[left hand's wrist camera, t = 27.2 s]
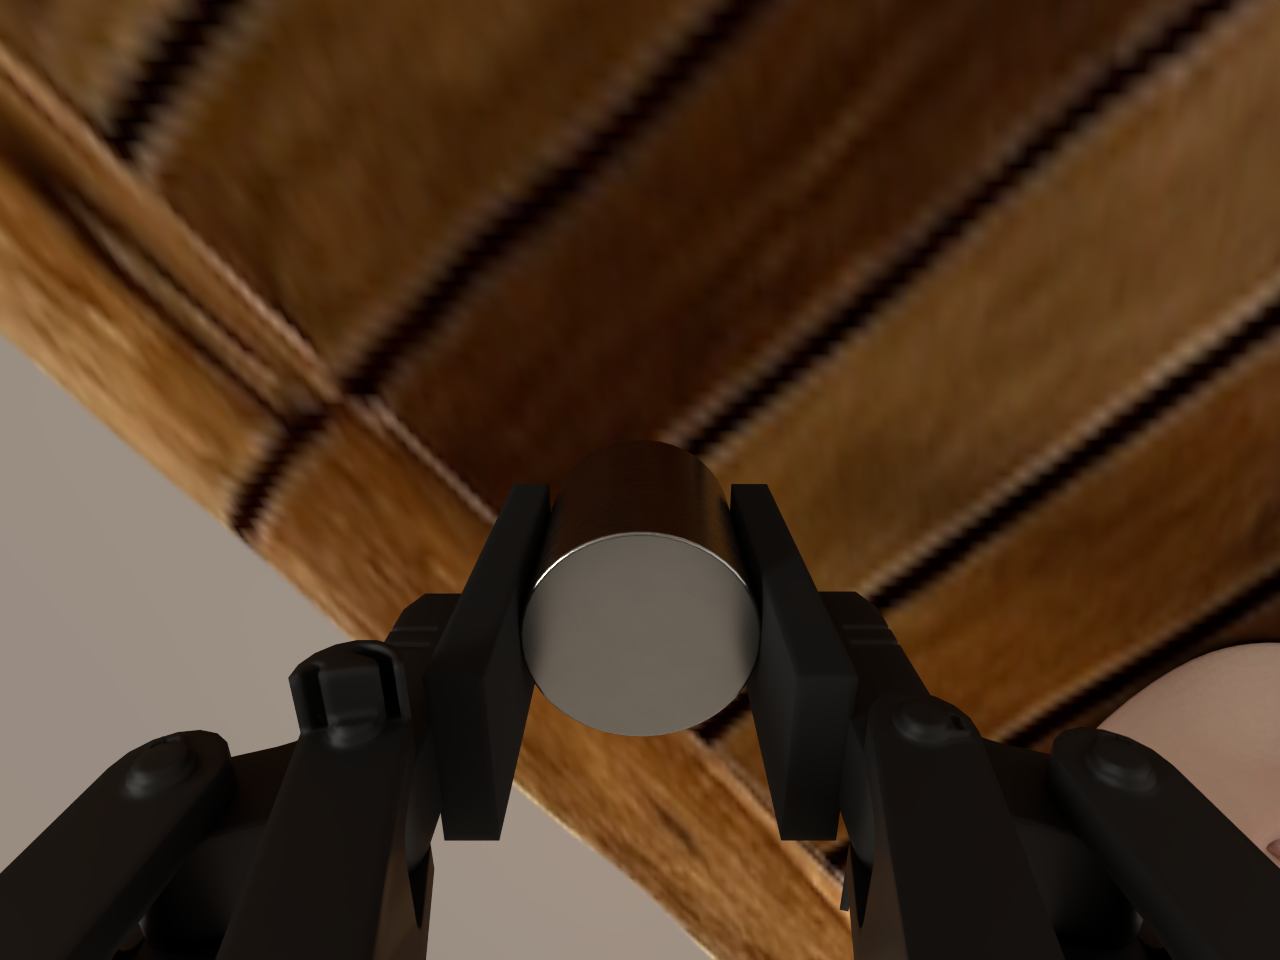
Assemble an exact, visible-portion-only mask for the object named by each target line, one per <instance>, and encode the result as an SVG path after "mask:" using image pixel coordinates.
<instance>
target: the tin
mask: <svg viewBox="0 0 1280 960" xmlns="http://www.w3.org/2000/svg"><path fill="white" fill-rule="evenodd" d="M761 627H762V625H761V618H760V613H759V608H758V605H757V602H756V598H755V595H754V591H753V588H752V585H751V581H750V578H749V575H748V571H747V568H746V564H745V561H744V558H743V554H742V551H741V547H740V544H739V541H738V537H737V534H736V531H735V527H734V524H733V520H732V517H731V514H730V510H729V507H728V504H727V500H726V497H725V495H724V492H723V489H722V487H721V486H720V484H719V482H718V480H717V479H716V477H715V476H714V475H713V473H712V472H711V471H710V470H709V469H708V468H707V467H706V466H705V465H704V464H703V463H702V462H701V461H700V460H699V459H697V458H696V457H695V456H693V455H692V454H690V453H688V452H687V451H685V450H683V449H681V448H678V447H676V446H673V445H670V444H667V443H663V442H659V441H652V440H630V441H623V442H618V443H614V444H611V445H608V446H605V447H603V448H600V449H599V450H597V451H595V452H593V453H591V454H590V455H588V456H587V457H585V458H584V459H583V460H581V461H580V462H579V463H578V464H577V465H576V466H575V467H574V468H573V469H572V470H571V471H570V472H569V474H568V475H567V476H566V478H565V479H564V481H563V483H562V484H561V486H560V488H559V490H558V493H557V495H556V498H555V501H554V505H553V508H552V512H551V515H550V518H549V522H548V525H547V529H546V532H545V535H544V539H543V542H542V545H541V549H540V552H539V556H538V559H537V562H536V566H535V569H534V573H533V576H532V579H531V583H530V586H529V589H528V593H527V596H526V600H525V603H524V607H523V610H522V614H521V619H520V629H519V633H520V646H521V651H522V656H523V659H524V662H525V665H526V667H527V670H528V672H529V674H530V676H531V678H532V679H533V681H534V683H535V684H536V686H537V687H538V688H539V690H540V691H541V692H542V694H543V695H544V696H545V697H546V698H547V699H548V700H549V701H550V702H551V703H552V704H553V705H554V706H556V707H557V708H558V709H559V710H561V711H562V712H563V713H565V714H566V715H568V716H569V717H571V718H573V719H574V720H576V721H578V722H580V723H582V724H585V725H587V726H589V727H592V728H595V729H598V730H601V731H604V732H609V733H613V734H618V735H627V736H654V735H663V734H668V733H673V732H677V731H680V730H684V729H687V728H690V727H692V726H694V725H697V724H699V723H701V722H703V721H705V720H707V719H709V718H710V717H712V716H714V715H715V714H717V713H718V712H719V711H721V710H722V709H723V708H725V707H726V706H727V705H728V704H729V703H730V702H731V701H732V700H733V699H734V698H736V696H737V695H738V694H739V693H740V691H741V690H742V689H743V688H744V687H745V685H746V683H747V682H748V680H749V678H750V677H751V675H752V673H753V670H754V668H755V666H756V663H757V661H758V657H759V653H760V645H761Z"/></svg>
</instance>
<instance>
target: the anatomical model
mask: <svg viewBox="0 0 1280 960" xmlns="http://www.w3.org/2000/svg"><path fill="white" fill-rule="evenodd" d="M1096 729H1104V730H1107V731H1110V732H1114V733H1117V734H1121V735H1123V736H1127V737H1129V738H1131V739H1133V740H1135V741H1137V742H1139V743H1141V744H1143V745H1145V746H1147V747H1149V748H1151V749H1153V750H1154V751H1156V752H1157V753H1158V754H1159V755H1161V756H1162V757H1163V758H1165V759H1166V760H1167V761H1169V762H1170V763H1171V764H1172V765H1174V766H1175V767H1176V768H1177V769H1178V770H1179V771H1180V772H1181V773H1182V774H1183V775H1184V776H1185V777H1186V778H1187V779H1188V780H1189V781H1190V782H1191V783H1192V784H1193V785H1194V786H1195V787H1196V788H1197V789H1198V790H1199V791H1201V792H1202V793H1203V794H1204V795H1205V796H1206V797H1207V798H1208V799H1209V800H1210V801H1211V802H1212V803H1213V804H1214V805H1215V806H1216V807H1217V808H1218V809H1219V810H1220V811H1221V812H1222V813H1223V814H1224V815H1225V816H1226V817H1227V818H1228V819H1229V820H1230V821H1231V822H1233V823H1234V824H1235V825H1236V826H1237V827H1238V828H1239V829H1240V830H1241V831H1242V832H1243V833H1244V834H1245V835H1246V836H1247V837H1248V838H1249V839H1250V840H1251V841H1252V842H1253V843H1254V844H1255V845H1256V846H1257V847H1258V848H1259V849H1260V850H1261V851H1262V852H1263V853H1265V854H1266V855H1267V856H1268V857H1269V858H1270V859H1271V860H1272V861H1273V862H1274V863H1275V864H1276V865H1277V866H1278V867H1279V868H1280V643H1256V644H1245V645H1237V646H1233V647H1228V648H1224V649H1220V650H1217V651H1213V652H1210V653H1207V654H1205V655H1202V656H1200V657H1197V658H1195V659H1192V660H1190V661H1188V662H1186V663H1184V664H1182V665H1181V666H1179V667H1177V668H1175V669H1173V670H1171V671H1170V672H1168V673H1167V674H1165V675H1163V676H1162V677H1160V678H1159V679H1157V680H1155V681H1154V682H1152V683H1151V684H1150V685H1148V686H1147V687H1145V688H1144V689H1143V690H1141V691H1140V692H1139V693H1137V694H1136V695H1134V696H1133V697H1132V698H1130V699H1129V700H1128V701H1127V702H1126V703H1124V704H1123V705H1122V706H1121V707H1120V708H1118V709H1117V710H1116V711H1115V712H1114V713H1113V714H1111V715H1110V716H1109V717H1108V718H1107V719H1106V720H1105V721H1103V722H1102V723H1101V724H1100V725H1099V726H1098V727H1097V728H1096Z"/></svg>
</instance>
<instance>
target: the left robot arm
mask: <svg viewBox="0 0 1280 960" xmlns="http://www.w3.org/2000/svg"><path fill="white" fill-rule="evenodd" d="M730 514H731V517H732V520H733V524H734V527H735V531H736V534H737V537H738V541H739V544H740V547H741V551H742V554H743V558H744V561H745V564H746V568H747V571H748V575H749V578H750V581H751V585H752V588H753V591H754V595H755V598H756V602H757V605H758V608H759V613H760V618H761V625H762V627H761V645H760V653H759V657H758V661H757V663H756V666H755V668H754V670H753V673H752V675H751V677H750V678H749V680H748V682H747V683H746V687H747V692H748V696H749V700H750V705H751V709H752V714H753V718H754V722H755V727H756V731H757V736H758V740H759V745H760V749H761V753H762V758H763V762H764V767H765V771H766V776H767V780H768V784H769V789H770V793H771V798H772V802H773V806H774V811H775V815H776V820H777V824H778V829H779V833H780V837H781V840H836V836H837V829H838V822H839V815H840V811H841V814H842V817H843V820H844V823H845V826H846V829H847V832H848V835H849V838H850V844H849V851H848V857H847V864H846V871H845V878H844V884H843V891H842V898H841V904H840V910H844V911H848V910H849V908H850V919H851V929H852V940H853V951H854V960H1280V868H1279V867H1278V866H1277V865H1276V864H1275V863H1274V862H1273V861H1272V860H1271V859H1270V858H1269V857H1268V856H1267V855H1266V854H1265V853H1263V852H1262V851H1261V850H1260V849H1259V848H1258V847H1257V846H1256V845H1255V844H1254V843H1253V842H1252V841H1251V840H1250V839H1249V838H1248V837H1247V836H1246V835H1245V834H1244V833H1243V832H1242V831H1241V830H1240V829H1239V828H1238V827H1237V826H1236V825H1235V824H1234V823H1233V822H1231V821H1230V820H1229V819H1228V818H1227V817H1226V816H1225V815H1224V814H1223V813H1222V812H1221V811H1220V810H1219V809H1218V808H1217V807H1216V806H1215V805H1214V804H1213V803H1212V802H1211V801H1210V800H1209V799H1208V798H1207V797H1206V796H1205V795H1204V794H1203V793H1202V792H1201V791H1199V790H1198V789H1197V788H1196V787H1195V786H1194V785H1193V784H1192V783H1191V782H1190V781H1189V780H1188V779H1187V778H1186V777H1185V776H1184V775H1183V774H1182V773H1181V772H1180V771H1179V770H1178V769H1177V768H1176V767H1175V766H1174V765H1172V764H1171V763H1170V762H1169V761H1167V760H1166V759H1165V758H1163V757H1162V756H1161V755H1159V754H1158V753H1157V752H1156V751H1154V750H1153V749H1151V748H1149V747H1147V746H1145V745H1143V744H1141V743H1139V742H1137V741H1135V740H1133V739H1131V738H1129V737H1127V736H1123V735H1121V734H1117V733H1114V732H1110V731H1107V730H1104V729H1094V728H1084V727H1080V728H1075V729H1070V730H1065V731H1063V732H1062V733H1061V734H1060V735H1059V736H1057V737H1056V738H1055V739H1054V742H1053V746H1052V749H1051V753H1050V754H1046V753H1041V752H1037V751H1032V750H1028V749H1023V748H1019V747H1014V746H1010V745H1005V744H1002V743H998V742H995V741H991V740H988V739H985V738H983V737H981V735H980V732H979V731H978V729H977V728H976V726H975V725H974V723H973V722H972V720H971V719H970V718H969V717H968V716H967V715H966V714H964V713H963V712H962V711H961V710H959V709H958V708H957V707H955V706H954V705H952V704H950V703H948V702H946V701H944V700H941V699H939V698H937V697H935V696H931V695H930V694H929V692H928V691H927V689H926V687H925V686H924V684H923V682H922V681H921V679H920V677H919V676H918V674H917V672H916V671H915V669H914V668H913V666H912V664H911V663H910V661H909V659H908V658H907V656H906V654H905V653H904V651H903V649H902V648H901V646H900V645H898V644H897V640H896V638H895V636H894V635H893V633H892V631H891V630H890V629H888V625H887V623H886V621H885V620H884V618H883V617H882V615H881V613H880V612H879V610H878V608H877V607H876V606H874V605H873V604H872V603H870V602H869V601H868V600H866V599H865V598H863V597H862V596H861V595H859V594H858V593H857V592H818V591H817V589H816V586H815V584H814V582H813V580H812V578H811V576H810V574H809V572H808V570H807V568H806V565H805V563H804V561H803V559H802V557H801V555H800V553H799V551H798V549H797V547H796V544H795V542H794V540H793V538H792V536H791V534H790V532H789V530H788V528H787V526H786V523H785V521H784V519H783V517H782V515H781V513H780V511H779V509H778V507H777V505H776V502H775V500H774V498H773V496H772V494H771V492H770V490H769V488H768V486H767V484H731V503H730ZM550 515H551V513H550V493H549V484H514V485H513V487H512V489H511V491H510V493H509V495H508V497H507V499H506V501H505V504H504V506H503V508H502V510H501V512H500V514H499V516H498V518H497V520H496V522H495V525H494V527H493V529H492V531H491V533H490V535H489V537H488V539H487V541H486V543H485V546H484V548H483V550H482V552H481V554H480V556H479V558H478V560H477V562H476V564H475V567H474V569H473V571H472V573H471V575H470V577H469V579H468V581H467V583H466V585H465V588H464V590H463V592H462V594H424V595H423V596H421V597H420V598H419V599H417V600H416V601H415V602H413V603H412V604H411V605H409V606H408V607H407V608H405V609H404V610H403V612H402V613H401V615H400V617H399V618H398V620H397V622H396V623H395V625H394V627H393V631H392V632H390V633H389V635H388V637H387V638H386V640H385V642H381V641H378V640H356V641H351V642H346V643H341V644H336V645H333V646H331V647H329V648H326V649H324V650H321V651H319V652H317V653H314V654H313V655H312V656H310V657H309V658H307V659H306V660H304V661H303V662H302V663H300V664H299V665H298V666H297V667H296V668H295V670H294V671H293V672H292V674H291V675H290V676H289V678H288V679H289V683H290V688H291V692H292V696H293V701H294V705H295V710H296V714H297V719H298V723H299V728H300V732H301V734H300V736H299V739H298V740H297V741H295V742H292V743H288V744H285V745H282V746H279V747H274V748H270V749H265V750H261V751H256V752H252V753H247V754H243V755H238V756H234V757H231V754H230V751H229V747H228V744H227V742H226V741H225V740H224V739H223V738H222V737H221V736H220V735H219V734H217V733H213V732H208V731H203V730H195V731H185V732H177V733H174V734H170V735H167V736H163V737H161V738H157V739H154V740H152V741H150V742H148V743H146V744H144V745H142V746H140V747H138V748H136V749H134V750H132V751H130V752H129V753H127V754H126V755H125V756H123V757H122V758H121V759H119V760H118V761H117V762H116V763H114V764H113V765H112V766H110V767H109V768H108V769H107V770H106V771H105V772H104V773H103V774H102V775H101V776H100V777H99V778H98V779H97V780H96V781H95V782H94V783H93V784H91V785H90V787H88V788H87V789H86V790H85V791H84V792H83V793H82V794H81V795H80V796H79V797H78V798H77V799H76V800H75V801H74V802H73V803H72V804H71V805H70V806H69V807H68V808H67V809H66V810H65V811H64V812H63V813H62V814H61V815H60V816H59V817H58V818H57V819H56V820H55V821H54V822H53V823H52V824H51V825H50V826H48V827H47V828H46V829H45V830H44V831H43V832H42V833H41V834H40V835H39V836H38V837H37V838H36V839H35V840H34V841H33V842H32V843H31V844H30V845H29V846H28V847H27V848H26V849H25V850H24V851H23V852H22V853H21V854H20V855H19V856H18V857H17V858H16V859H15V860H14V861H13V862H12V863H11V864H10V865H9V866H7V867H6V868H5V869H4V870H3V871H2V872H1V873H0V960H426V952H427V942H428V931H429V920H430V909H431V898H432V887H433V877H434V864H433V858H432V851H431V844H430V842H431V840H432V837H433V834H434V831H435V828H436V825H437V822H438V819H439V816H440V813H441V818H442V825H443V833H444V840H499V839H500V835H501V830H502V826H503V822H504V817H505V813H506V808H507V804H508V800H509V795H510V791H511V786H512V782H513V778H514V773H515V769H516V764H517V760H518V755H519V751H520V747H521V742H522V738H523V733H524V729H525V725H526V720H527V716H528V711H529V707H530V702H531V698H532V694H533V689H534V685H535V683H534V681H533V679H532V678H531V676H530V674H529V672H528V670H527V667H526V665H525V662H524V659H523V656H522V651H521V646H520V633H519V629H520V619H521V614H522V610H523V607H524V603H525V600H526V596H527V593H528V589H529V586H530V583H531V579H532V576H533V573H534V569H535V566H536V562H537V559H538V556H539V552H540V549H541V545H542V542H543V539H544V535H545V532H546V529H547V525H548V522H549V518H550Z"/></svg>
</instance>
